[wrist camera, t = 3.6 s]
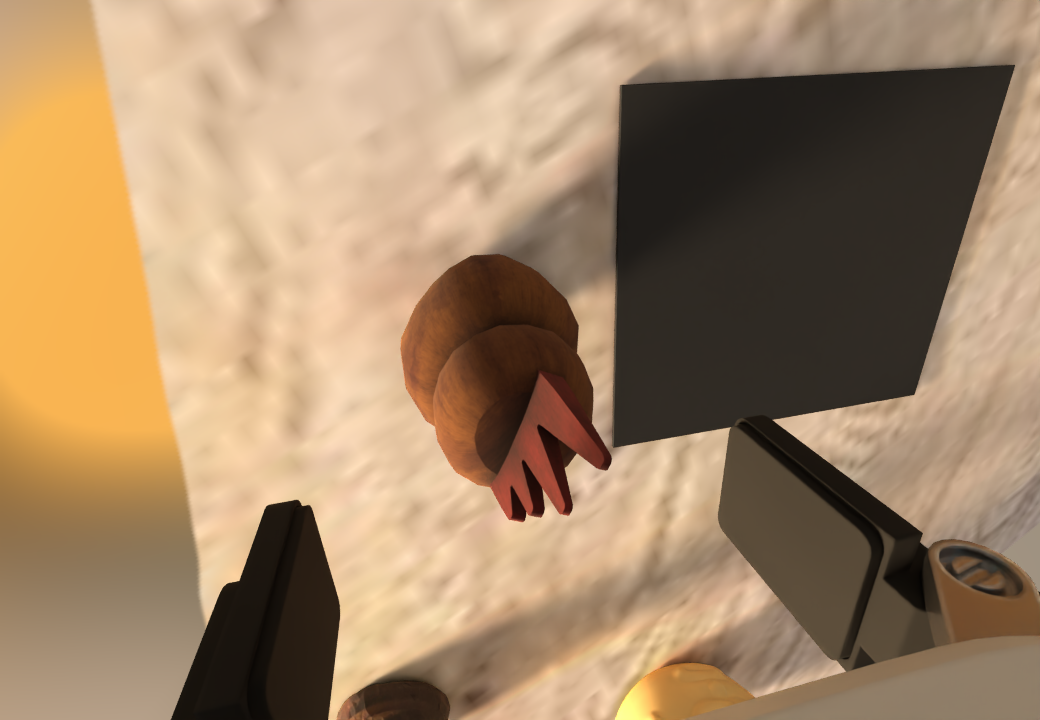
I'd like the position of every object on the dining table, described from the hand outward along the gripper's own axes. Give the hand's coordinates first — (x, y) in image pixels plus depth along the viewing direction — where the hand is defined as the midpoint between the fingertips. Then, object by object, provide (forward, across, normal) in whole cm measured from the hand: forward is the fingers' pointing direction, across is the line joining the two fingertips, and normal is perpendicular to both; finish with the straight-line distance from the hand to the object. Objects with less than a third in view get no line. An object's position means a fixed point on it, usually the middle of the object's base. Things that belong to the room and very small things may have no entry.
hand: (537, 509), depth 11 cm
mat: (+14, -18, 0) cm, 22 cm away
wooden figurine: (+14, -1, 0) cm, 14 cm away
